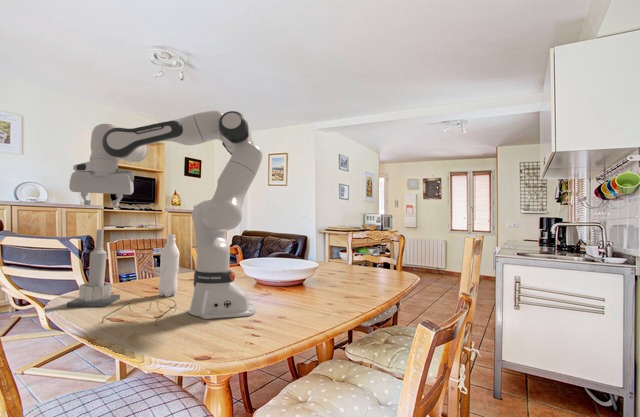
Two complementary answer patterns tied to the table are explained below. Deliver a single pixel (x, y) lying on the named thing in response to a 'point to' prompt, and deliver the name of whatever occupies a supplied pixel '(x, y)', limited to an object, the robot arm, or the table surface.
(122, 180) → the robot arm
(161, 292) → the water bottle
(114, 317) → the table surface
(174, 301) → the eyeglasses
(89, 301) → the collar holder
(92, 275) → the bottle
